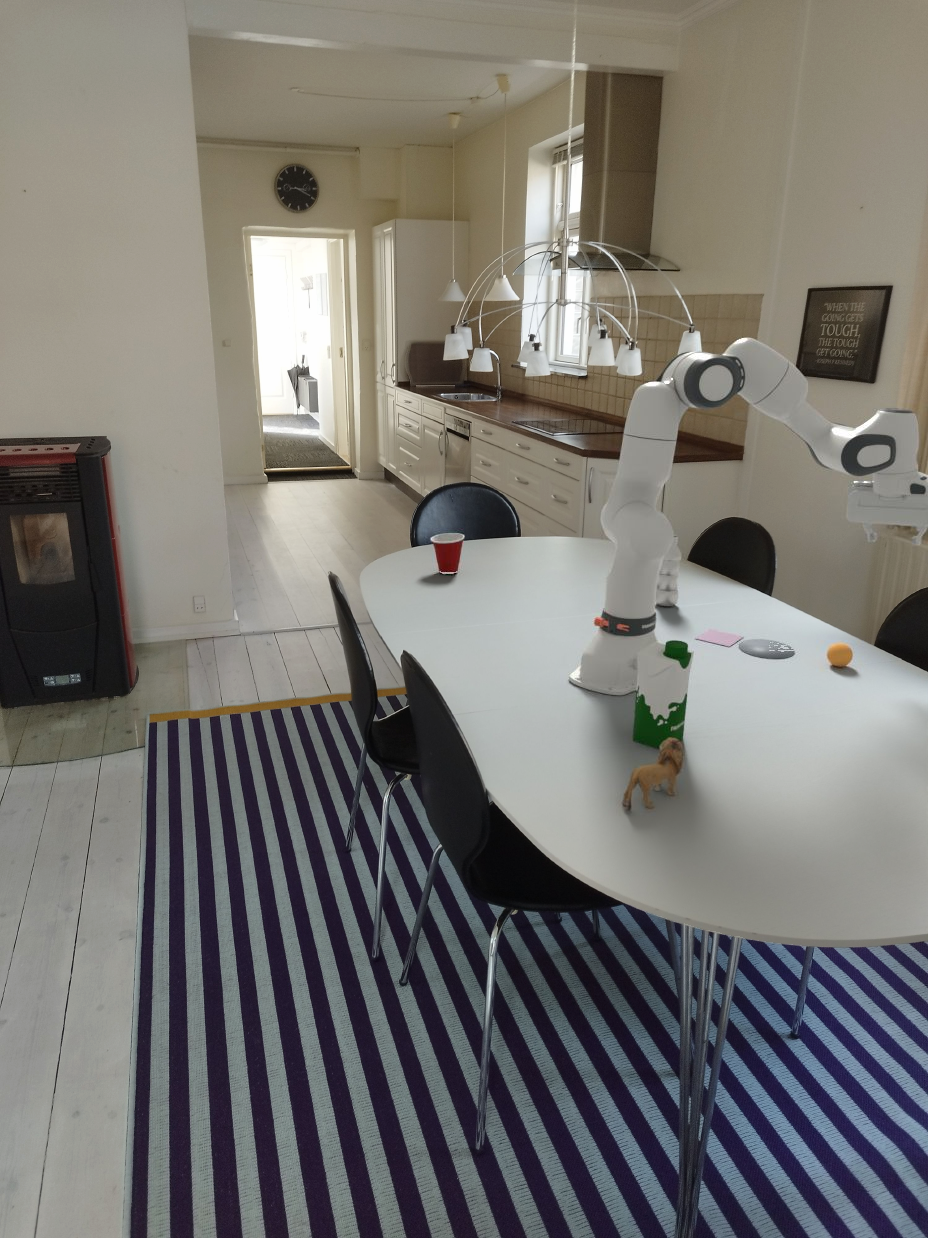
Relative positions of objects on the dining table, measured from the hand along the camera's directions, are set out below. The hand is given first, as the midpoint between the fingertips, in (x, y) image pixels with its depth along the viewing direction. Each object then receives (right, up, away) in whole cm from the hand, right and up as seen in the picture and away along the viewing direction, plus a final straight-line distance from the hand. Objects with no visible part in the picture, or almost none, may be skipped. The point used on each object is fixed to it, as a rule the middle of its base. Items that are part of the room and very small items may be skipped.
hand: (893, 542), depth 192 cm
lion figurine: (-65, -47, -48) cm, 94 cm away
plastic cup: (-102, -3, +81) cm, 130 cm away
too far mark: (-32, -22, +25) cm, 46 cm away
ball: (-9, -25, +6) cm, 28 cm away
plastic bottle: (-40, -13, +50) cm, 65 cm away
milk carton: (-60, -40, -29) cm, 77 cm away
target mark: (-23, -24, +17) cm, 38 cm away
